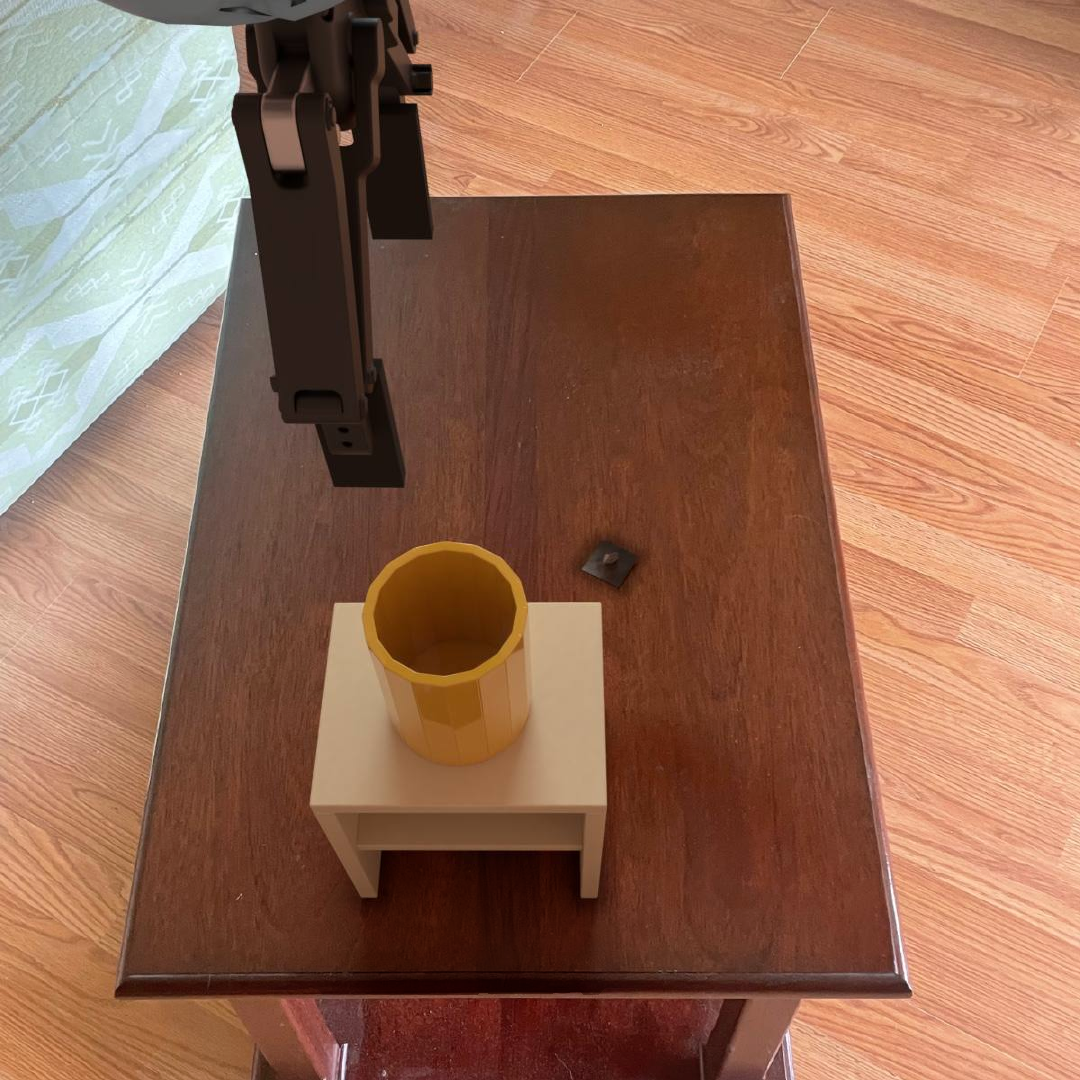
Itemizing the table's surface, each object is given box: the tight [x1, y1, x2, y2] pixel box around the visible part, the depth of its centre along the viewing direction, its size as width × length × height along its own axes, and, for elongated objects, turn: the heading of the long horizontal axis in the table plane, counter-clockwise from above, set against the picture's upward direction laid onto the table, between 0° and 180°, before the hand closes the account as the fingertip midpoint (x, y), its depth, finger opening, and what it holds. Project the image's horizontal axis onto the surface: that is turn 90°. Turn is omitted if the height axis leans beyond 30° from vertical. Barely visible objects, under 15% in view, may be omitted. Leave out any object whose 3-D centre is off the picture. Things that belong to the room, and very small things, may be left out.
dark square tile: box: [581, 539, 639, 588], centre depth 77 cm, size 3×3×1 cm
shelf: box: [309, 601, 608, 899], centre depth 61 cm, size 14×11×16 cm
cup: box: [362, 540, 532, 766], centre depth 51 cm, size 7×7×9 cm
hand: (388, 347), depth 46 cm, fingers open, 13 cm apart
